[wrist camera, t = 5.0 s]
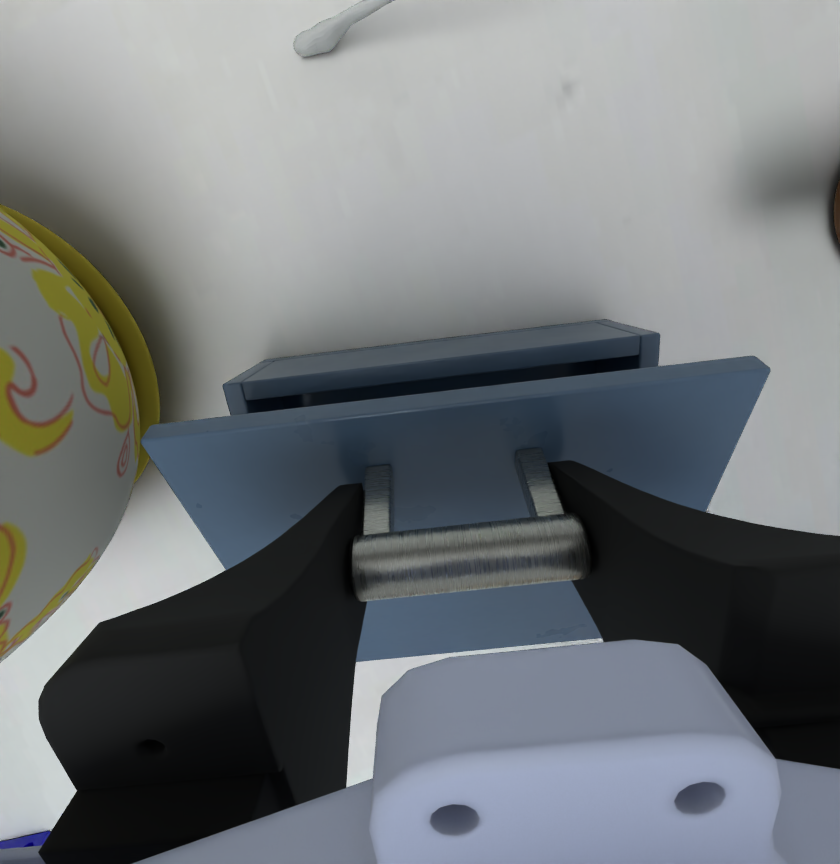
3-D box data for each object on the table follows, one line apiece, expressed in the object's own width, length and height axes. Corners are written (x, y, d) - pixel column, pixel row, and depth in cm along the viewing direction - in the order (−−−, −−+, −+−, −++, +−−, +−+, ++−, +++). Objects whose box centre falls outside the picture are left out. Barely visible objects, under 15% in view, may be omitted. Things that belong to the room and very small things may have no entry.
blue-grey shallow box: (263, 359, 20) (221, 384, 16) (606, 318, 20) (661, 332, 15) (316, 584, 24) (295, 653, 20) (600, 554, 24) (642, 619, 19)
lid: (149, 423, 12) (51, 568, 8) (754, 353, 11) (910, 477, 8) (294, 652, 20) (274, 770, 17) (643, 618, 19) (695, 732, 16)
